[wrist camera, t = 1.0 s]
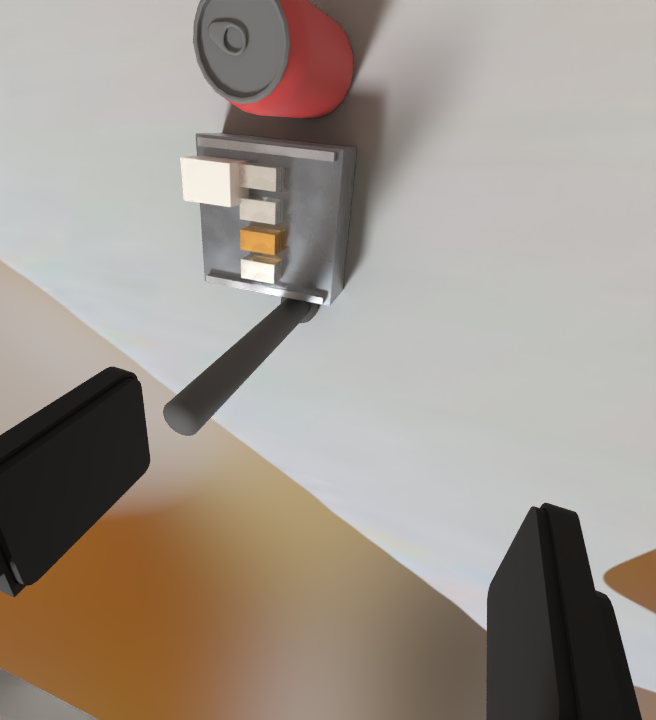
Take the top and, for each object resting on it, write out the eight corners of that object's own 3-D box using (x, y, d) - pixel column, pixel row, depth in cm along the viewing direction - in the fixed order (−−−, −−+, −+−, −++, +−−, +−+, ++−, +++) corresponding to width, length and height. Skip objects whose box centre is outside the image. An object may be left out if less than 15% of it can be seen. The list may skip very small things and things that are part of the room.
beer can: (287, -1, 31) (195, -63, 21) (369, 34, 31) (315, -12, 21) (264, 99, 35) (175, 87, 25) (337, 132, 34) (276, 133, 24)
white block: (248, 160, 33) (229, 163, 31) (248, 201, 35) (230, 207, 32) (202, 155, 34) (180, 157, 32) (204, 195, 36) (183, 200, 33)
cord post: (320, 288, 41) (206, 400, 24) (317, 323, 43) (210, 450, 26) (284, 281, 42) (150, 386, 25) (283, 316, 43) (158, 435, 26)
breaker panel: (357, 147, 34) (337, 150, 30) (342, 290, 40) (324, 312, 35) (221, 132, 37) (183, 133, 32) (226, 269, 43) (195, 286, 38)
